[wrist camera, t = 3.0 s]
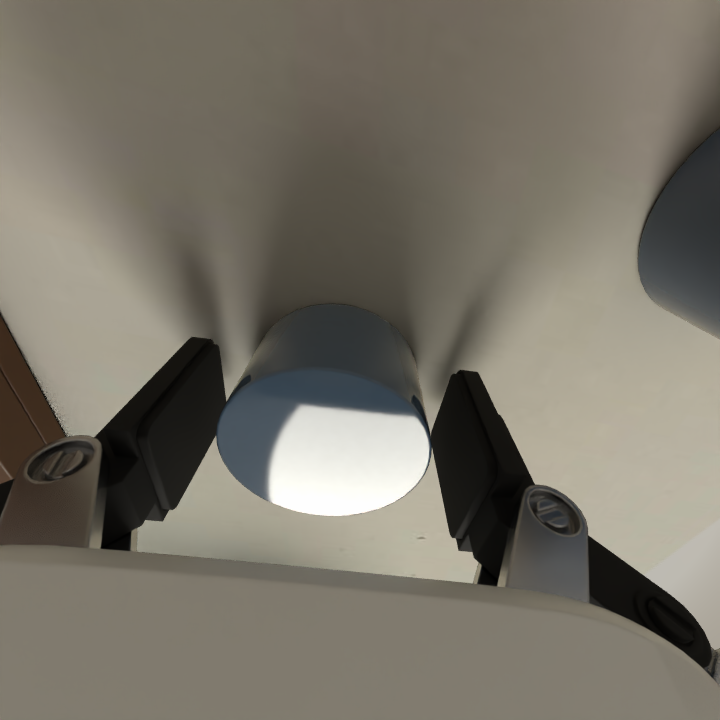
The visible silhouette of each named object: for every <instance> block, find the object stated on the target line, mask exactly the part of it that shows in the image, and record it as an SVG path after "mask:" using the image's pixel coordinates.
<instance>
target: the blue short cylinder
mask: <svg viewBox="0 0 720 720" xmlns="http://www.w3.org/2000/svg"><path fill="white" fill-rule="evenodd" d="M216 437H217V446H218V449H219V453H220V455H221V458H222V460H223V462H224V464H225V465H226V467H227V468H228V470H229V471H230V472H231V474H232V475H233V476H234V477H235V478H236V479H237V480H238V481H239V482H240V483H241V484H242V485H243V486H244V487H246V488H247V489H248V490H250V491H251V492H253V493H254V494H256V495H257V496H259V497H261V498H262V499H264V500H266V501H269V502H271V503H273V504H275V505H278V506H280V507H283V508H286V509H290V510H293V511H297V512H301V513H306V514H313V515H322V516H346V515H355V514H361V513H366V512H370V511H374V510H377V509H380V508H383V507H385V506H388V505H390V504H392V503H394V502H396V501H397V500H399V499H401V498H402V497H404V496H405V495H406V494H408V493H409V492H410V491H411V490H413V488H414V487H415V486H416V485H417V484H418V483H419V482H420V480H421V479H422V478H423V476H424V474H425V472H426V470H427V468H428V466H429V462H430V458H431V451H432V443H431V436H430V431H429V426H428V421H427V416H426V411H425V406H424V402H423V397H422V392H421V387H420V382H419V377H418V372H417V367H416V362H415V359H414V356H413V353H412V351H411V349H410V346H409V344H408V343H407V342H406V340H405V339H404V337H403V336H402V335H401V334H400V333H399V332H398V330H397V329H396V328H395V327H393V326H392V325H391V324H390V323H388V322H387V321H386V320H384V319H382V318H381V317H379V316H378V315H375V314H373V313H371V312H369V311H367V310H364V309H360V308H357V307H353V306H348V305H341V304H322V305H315V306H309V307H306V308H303V309H300V310H297V311H295V312H292V313H290V314H288V315H286V316H285V317H284V318H282V319H281V320H279V321H278V322H277V323H276V324H275V325H273V326H272V327H271V328H270V330H269V331H268V332H267V333H266V335H265V336H264V338H263V340H262V341H261V343H260V345H259V346H258V348H257V350H256V352H255V353H254V355H253V357H252V359H251V360H250V362H249V364H248V366H247V367H246V369H245V371H244V373H243V374H242V376H241V378H240V379H239V381H238V383H237V385H236V386H235V388H234V390H233V392H232V393H231V395H230V397H229V399H228V400H227V402H226V404H225V406H224V407H223V409H222V411H221V413H220V416H219V419H218V422H217V430H216Z"/></svg>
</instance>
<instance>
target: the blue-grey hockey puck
mask: <svg viewBox="0 0 720 720" xmlns="http://www.w3.org/2000/svg"><path fill="white" fill-rule="evenodd" d="M638 271H639V275H640V279H641V283H642V285H643V287H644V289H645V291H646V293H647V294H648V295H649V297H650V298H651V299H652V300H653V301H654V302H655V303H656V304H657V305H658V306H660V307H662V308H663V309H665V310H667V311H669V312H670V313H672V314H674V315H676V316H678V317H679V318H681V319H683V320H685V321H687V322H689V323H690V324H692V325H694V326H696V327H698V328H700V329H701V330H703V331H705V332H707V333H709V334H711V335H712V336H714V337H716V338H718V339H720V128H719V129H718V130H717V131H716V132H714V133H713V134H712V135H711V136H710V137H709V138H708V139H707V140H705V141H704V142H703V143H702V144H701V145H700V146H699V147H698V148H697V149H696V150H695V151H694V152H693V153H692V154H691V155H690V157H689V158H688V159H687V160H686V161H685V162H684V163H683V164H682V166H681V167H680V168H679V169H678V170H677V172H676V173H675V174H674V176H673V177H672V178H671V180H670V181H669V182H668V184H667V185H666V187H665V188H664V190H663V191H662V193H661V195H660V196H659V198H658V199H657V201H656V203H655V205H654V207H653V209H652V211H651V213H650V215H649V217H648V219H647V222H646V225H645V227H644V230H643V233H642V237H641V241H640V245H639V253H638Z"/></svg>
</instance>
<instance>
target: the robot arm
mask: <svg viewBox="0 0 720 720" xmlns="http://www.w3.org/2000/svg"><path fill="white" fill-rule="evenodd" d="M225 404H226V395H225V388H224V380H223V373H222V365H221V358H220V350H219V346H218V345H217V344H214V342H213V341H212V340H211V339H206V338H198V337H191V338H190V339H189V340H188V341H187V342H186V343H185V344H184V345H183V346H182V347H181V348H180V349H179V350H178V351H177V352H176V353H175V354H174V355H173V356H172V357H171V358H170V359H169V360H168V362H167V363H166V364H165V365H164V366H163V367H162V368H161V369H160V370H159V371H158V372H157V373H156V374H155V375H154V376H153V377H152V378H151V379H150V380H149V381H148V382H147V383H146V384H145V385H144V386H143V387H142V389H141V390H140V391H139V392H138V393H137V394H136V395H135V396H134V397H133V398H132V399H131V400H130V401H129V402H128V403H127V404H126V405H125V406H124V407H123V408H122V409H121V410H120V411H119V412H118V413H117V414H116V415H115V417H114V418H113V419H112V420H111V421H110V422H109V423H108V424H107V425H106V426H105V427H104V428H103V429H102V430H101V431H100V432H99V433H98V434H97V435H96V436H95V437H91V436H84V435H77V436H69V437H65V438H61V439H58V440H55V441H53V442H50V443H48V444H46V445H44V446H42V447H40V448H39V449H37V450H36V451H34V452H33V453H31V454H30V455H29V456H28V457H27V458H26V459H25V460H24V461H23V462H22V464H21V466H20V467H19V469H18V471H17V474H16V476H15V478H14V479H12V480H9V481H6V482H4V483H1V484H0V720H720V648H719V649H717V650H714V649H713V648H712V647H711V646H710V643H709V641H708V639H707V637H706V634H705V632H704V631H703V629H702V628H701V626H700V625H699V623H698V622H697V621H696V619H695V618H694V617H693V616H692V614H691V613H690V612H689V611H688V610H687V609H686V608H685V607H684V606H683V605H682V604H681V603H680V602H678V601H677V600H676V599H675V598H674V597H672V596H671V595H670V594H668V593H667V592H666V591H664V590H663V589H662V588H660V587H659V586H657V585H656V584H655V583H653V582H652V581H650V580H649V579H648V578H646V577H645V576H644V575H642V574H641V573H639V572H638V571H637V570H635V569H634V568H633V567H631V566H630V565H628V564H627V563H626V562H624V561H623V560H621V559H620V558H619V557H617V556H616V555H615V554H613V553H612V552H610V551H609V550H608V549H606V548H605V547H603V546H602V545H601V544H599V543H598V542H597V541H595V540H594V539H592V538H591V537H590V536H588V527H587V522H586V519H585V517H584V515H583V514H582V512H581V510H580V509H579V508H578V507H577V505H576V504H575V503H574V502H573V501H572V500H570V499H569V498H568V497H567V496H566V495H564V494H563V493H561V492H559V491H558V490H556V489H553V488H551V487H548V486H544V485H535V484H534V482H533V480H532V478H531V476H530V474H529V472H528V470H527V467H526V465H525V463H524V461H523V459H522V457H521V455H520V453H519V451H518V449H517V447H516V445H515V443H514V441H513V439H512V437H511V435H510V432H509V430H508V428H507V426H506V424H505V422H504V420H503V418H502V417H501V416H500V415H499V414H498V413H497V411H496V409H495V407H494V405H493V402H492V400H491V398H490V396H489V394H488V392H487V390H486V388H485V386H484V384H483V381H482V379H481V377H480V375H479V374H478V372H474V371H465V370H459V371H458V372H457V374H454V373H453V374H452V375H451V377H450V380H449V383H448V386H447V389H446V392H445V395H444V397H443V400H442V403H441V406H440V409H439V412H438V415H437V418H436V420H435V423H434V426H433V429H432V432H431V443H432V449H433V454H434V458H435V463H436V468H437V473H438V478H439V483H440V488H441V493H442V498H443V503H444V508H445V513H446V518H447V523H448V527H449V532H450V535H451V537H452V538H456V541H457V545H458V550H459V551H467V552H473V556H474V558H475V559H476V560H477V561H478V566H477V570H476V573H475V577H474V581H473V584H471V583H462V582H452V581H442V580H432V579H422V578H412V577H402V576H392V575H382V574H372V573H362V572H351V571H341V570H330V569H320V568H309V567H299V566H288V565H277V564H267V563H256V562H245V561H234V560H223V559H212V558H201V557H190V556H178V555H167V554H156V553H145V552H137V528H138V527H140V526H142V524H143V523H144V521H145V520H152V521H163V520H164V518H165V517H166V515H167V513H168V511H169V510H173V509H175V508H176V507H177V505H178V504H179V502H180V500H181V498H182V496H183V494H184V493H185V491H186V489H187V487H188V485H189V483H190V482H191V480H192V478H193V476H194V474H195V472H196V471H197V469H198V467H199V465H200V463H201V461H202V460H203V458H204V456H205V454H206V452H207V450H208V449H209V447H210V445H211V443H212V441H213V439H214V438H215V436H216V430H217V422H218V419H219V416H220V413H221V411H222V409H223V407H224V406H225Z"/></svg>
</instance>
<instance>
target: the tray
mask: <svg viewBox="0 0 720 720" xmlns="http://www.w3.org/2000/svg"><path fill="white" fill-rule="evenodd" d="M61 438H65V435H64V433H63V431H62V430H61V428H60V426H59V424H58V422H57V420H56V418H55V416H54V415H53V413H52V411H51V409H50V407H49V405H48V403H47V402H46V400H45V398H44V396H43V394H42V392H41V390H40V389H39V387H38V385H37V383H36V381H35V379H34V377H33V376H32V374H31V372H30V370H29V368H28V366H27V364H26V362H25V361H24V359H23V357H22V355H21V353H20V351H19V349H18V348H17V346H16V344H15V342H14V340H13V338H12V336H11V335H10V333H9V331H8V329H7V327H6V325H5V323H4V322H3V320H2V318H1V316H0V484H1V483H4V482H6V481H9V480H12V479H14V478H15V476H16V474H17V471H18V469H19V467H20V466H21V464H22V462H23V461H24V460H25V459H26V458H27V457H28V456H29V455H30V454H31V453H33V452H34V451H36V450H37V449H39V448H40V447H42V446H44V445H46V444H48V443H50V442H53V441H55V440H58V439H61Z"/></svg>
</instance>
